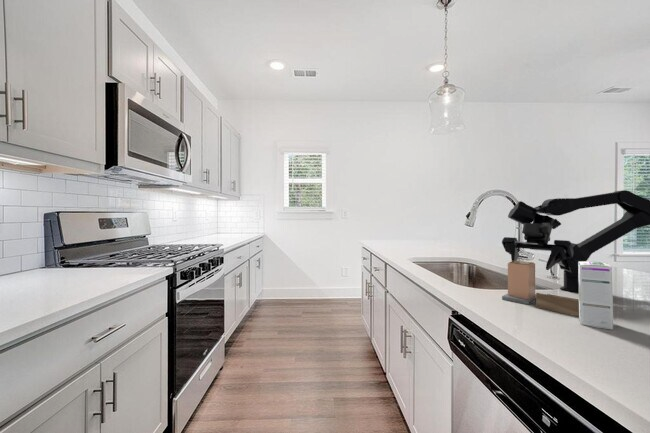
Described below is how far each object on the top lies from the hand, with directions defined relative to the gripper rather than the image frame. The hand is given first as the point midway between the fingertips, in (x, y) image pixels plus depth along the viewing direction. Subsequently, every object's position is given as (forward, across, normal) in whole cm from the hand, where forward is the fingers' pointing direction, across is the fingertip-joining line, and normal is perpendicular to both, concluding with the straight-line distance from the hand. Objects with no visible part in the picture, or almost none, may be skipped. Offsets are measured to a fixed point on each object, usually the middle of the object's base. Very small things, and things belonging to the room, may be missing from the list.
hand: (529, 267), depth 94 cm
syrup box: (+17, +18, -4) cm, 25 cm away
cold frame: (+11, +10, +2) cm, 15 cm away
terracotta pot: (+10, 0, +2) cm, 10 cm away
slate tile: (+10, 0, +2) cm, 11 cm away
